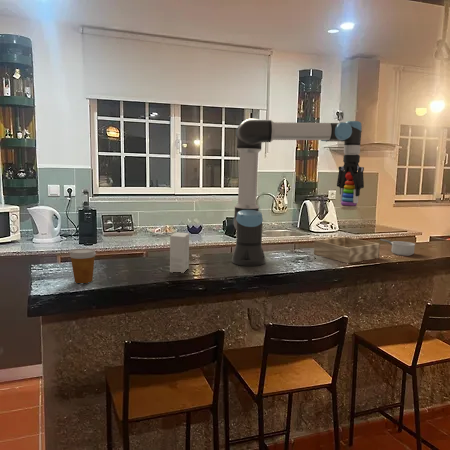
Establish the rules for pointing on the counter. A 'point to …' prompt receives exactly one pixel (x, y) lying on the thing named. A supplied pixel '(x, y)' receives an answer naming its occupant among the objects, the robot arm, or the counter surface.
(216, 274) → the counter surface
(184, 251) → the skincare box
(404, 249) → the saucepan
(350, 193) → the stacking toy
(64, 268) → the counter surface
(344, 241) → the open-top box
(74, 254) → the disposable coffee cup
